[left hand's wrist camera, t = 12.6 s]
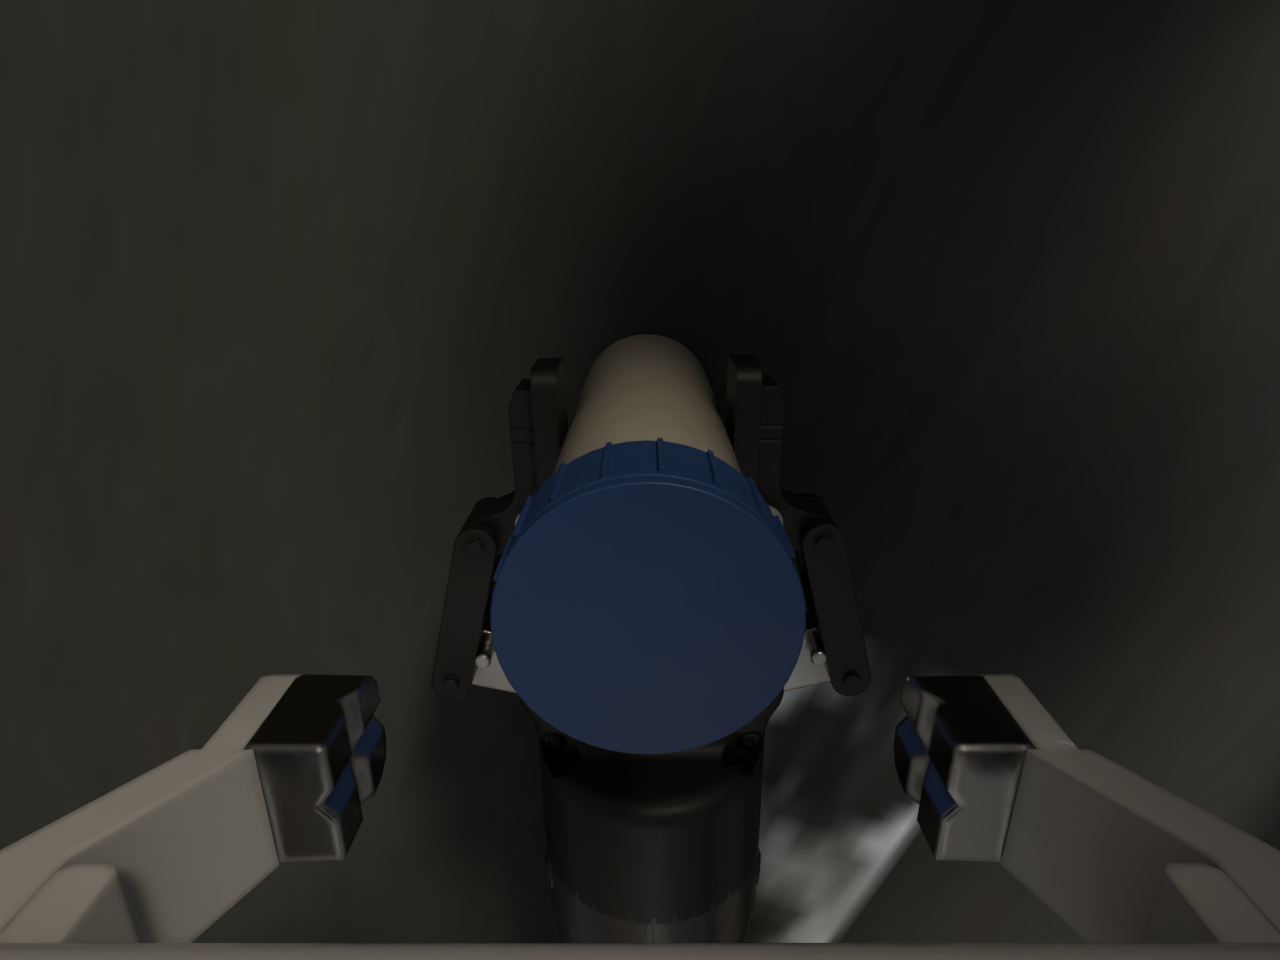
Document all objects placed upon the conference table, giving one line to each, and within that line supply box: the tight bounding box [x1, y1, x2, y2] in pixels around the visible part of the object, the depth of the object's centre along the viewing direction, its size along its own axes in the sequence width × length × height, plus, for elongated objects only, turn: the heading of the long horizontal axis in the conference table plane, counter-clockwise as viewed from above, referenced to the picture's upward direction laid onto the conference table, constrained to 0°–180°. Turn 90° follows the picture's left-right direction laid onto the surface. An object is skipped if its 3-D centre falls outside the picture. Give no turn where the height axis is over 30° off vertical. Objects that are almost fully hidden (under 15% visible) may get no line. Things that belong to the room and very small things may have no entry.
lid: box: [490, 438, 806, 754], centre depth 13 cm, size 6×6×2 cm
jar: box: [553, 334, 742, 474], centre depth 20 cm, size 5×5×15 cm
